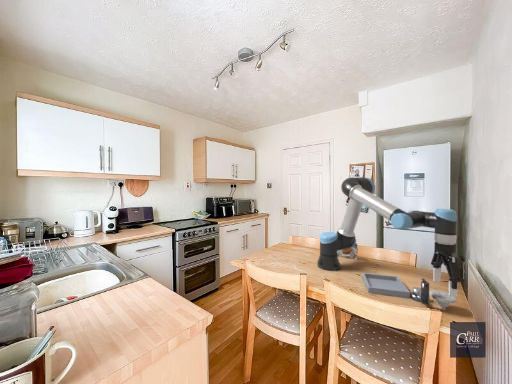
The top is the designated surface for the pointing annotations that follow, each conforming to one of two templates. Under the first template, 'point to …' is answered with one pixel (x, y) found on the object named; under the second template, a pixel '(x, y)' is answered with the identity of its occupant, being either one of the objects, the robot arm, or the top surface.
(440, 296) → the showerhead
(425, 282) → the crank
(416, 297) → the crank base
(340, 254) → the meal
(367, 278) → the tray
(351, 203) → the robot arm
